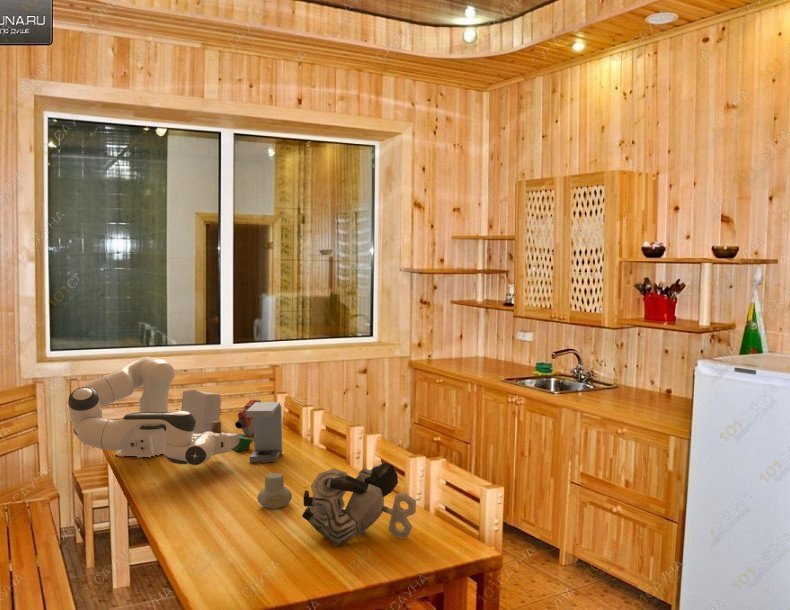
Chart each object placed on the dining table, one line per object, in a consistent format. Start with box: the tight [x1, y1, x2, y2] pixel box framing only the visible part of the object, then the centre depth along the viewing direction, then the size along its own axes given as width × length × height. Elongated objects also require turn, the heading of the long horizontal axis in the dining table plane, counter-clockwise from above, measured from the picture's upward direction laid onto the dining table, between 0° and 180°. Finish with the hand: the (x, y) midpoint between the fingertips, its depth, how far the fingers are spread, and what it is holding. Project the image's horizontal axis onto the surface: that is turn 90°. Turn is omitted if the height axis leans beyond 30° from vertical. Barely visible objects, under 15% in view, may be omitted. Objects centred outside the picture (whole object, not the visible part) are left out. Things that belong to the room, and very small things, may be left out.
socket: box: [249, 450, 281, 464], centre depth 291 cm, size 10×10×2 cm
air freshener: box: [256, 472, 293, 510], centre depth 237 cm, size 11×8×10 cm
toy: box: [301, 461, 417, 547], centre depth 213 cm, size 21×31×30 cm
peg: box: [212, 420, 222, 434], centre depth 290 cm, size 4×4×12 cm
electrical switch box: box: [180, 389, 222, 434], centre depth 340 cm, size 15×15×20 cm
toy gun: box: [234, 398, 262, 438], centre depth 330 cm, size 4×20×15 cm, turn 163°
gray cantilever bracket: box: [246, 401, 284, 455], centre depth 290 cm, size 11×16×21 cm
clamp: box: [231, 433, 254, 452], centre depth 308 cm, size 12×6×9 cm, turn 28°
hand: (217, 434), depth 290 cm, fingers closed on peg, 4 cm apart
